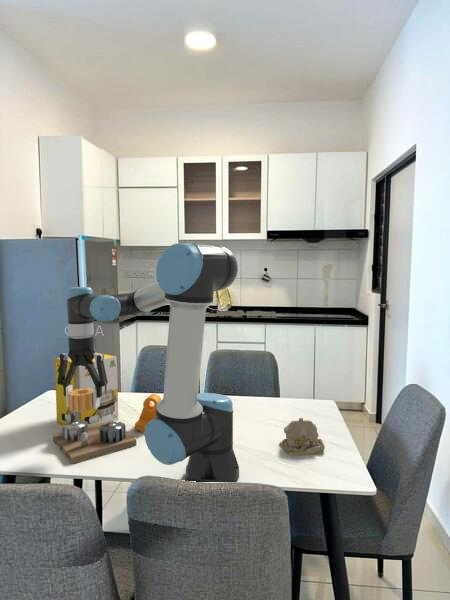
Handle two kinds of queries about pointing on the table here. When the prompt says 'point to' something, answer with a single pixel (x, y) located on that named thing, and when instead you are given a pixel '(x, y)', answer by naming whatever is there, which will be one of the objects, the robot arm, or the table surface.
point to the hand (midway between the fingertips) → (83, 406)
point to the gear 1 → (74, 429)
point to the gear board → (90, 445)
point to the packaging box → (84, 380)
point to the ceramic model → (302, 438)
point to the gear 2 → (112, 432)
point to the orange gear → (81, 400)
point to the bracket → (147, 412)
